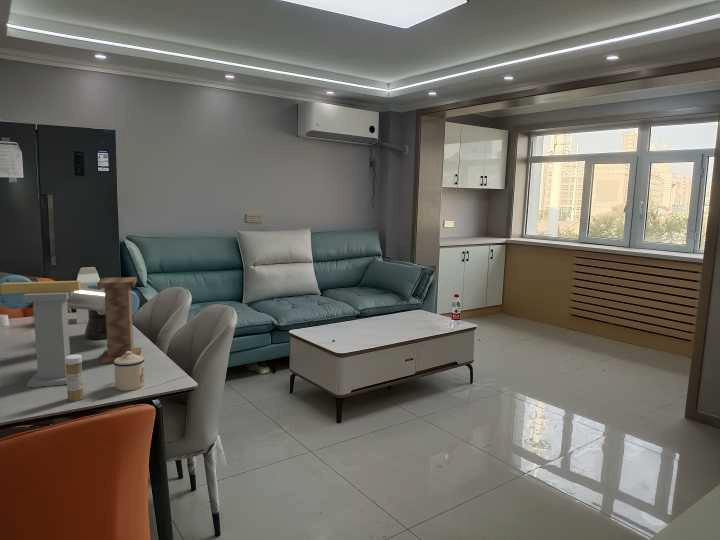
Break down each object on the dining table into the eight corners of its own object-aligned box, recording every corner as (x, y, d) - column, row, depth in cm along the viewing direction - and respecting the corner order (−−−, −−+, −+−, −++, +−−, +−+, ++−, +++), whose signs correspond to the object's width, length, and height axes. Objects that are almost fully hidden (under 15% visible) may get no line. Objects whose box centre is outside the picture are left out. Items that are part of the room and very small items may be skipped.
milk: (76, 323, 249) (73, 269, 245) (77, 318, 259) (73, 266, 255) (104, 321, 255) (101, 268, 251) (103, 316, 265) (101, 265, 261)
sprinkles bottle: (72, 395, 161) (70, 353, 159) (87, 396, 161) (84, 354, 159) (64, 401, 157) (61, 358, 155) (78, 402, 157) (76, 358, 155)
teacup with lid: (147, 388, 169) (146, 353, 167) (116, 393, 164) (115, 357, 162) (140, 377, 179) (139, 344, 177) (111, 381, 174) (110, 347, 172)
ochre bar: (1, 293, 165) (0, 284, 165) (4, 292, 168) (3, 282, 168) (78, 291, 172) (78, 282, 172) (80, 289, 175) (80, 280, 175)
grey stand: (27, 387, 167) (20, 295, 163) (38, 374, 179) (32, 288, 175) (73, 384, 171) (67, 294, 167) (81, 371, 183) (76, 287, 179)
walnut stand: (99, 364, 191) (95, 283, 187) (105, 353, 204) (101, 277, 199) (138, 361, 195) (134, 282, 191) (141, 351, 208) (138, 276, 203)
